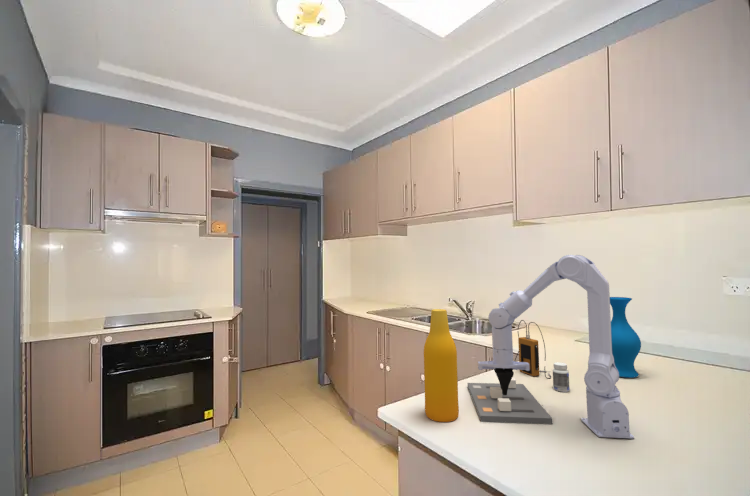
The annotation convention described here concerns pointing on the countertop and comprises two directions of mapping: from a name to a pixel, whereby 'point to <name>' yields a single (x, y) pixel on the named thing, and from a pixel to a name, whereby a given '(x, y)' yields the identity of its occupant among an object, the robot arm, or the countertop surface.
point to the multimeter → (530, 353)
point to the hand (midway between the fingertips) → (504, 394)
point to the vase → (623, 339)
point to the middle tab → (495, 392)
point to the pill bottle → (560, 377)
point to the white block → (504, 404)
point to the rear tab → (512, 383)
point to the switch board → (521, 405)
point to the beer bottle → (440, 370)
